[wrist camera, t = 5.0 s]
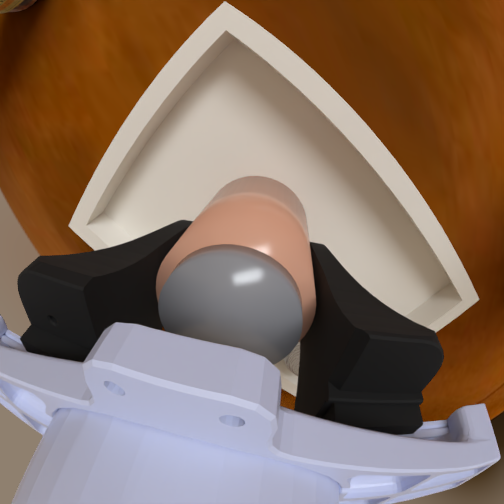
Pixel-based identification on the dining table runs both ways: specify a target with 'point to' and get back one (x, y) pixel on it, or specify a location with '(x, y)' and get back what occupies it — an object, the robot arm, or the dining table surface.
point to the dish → (273, 168)
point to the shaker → (242, 271)
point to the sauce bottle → (15, 5)
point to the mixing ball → (293, 360)
